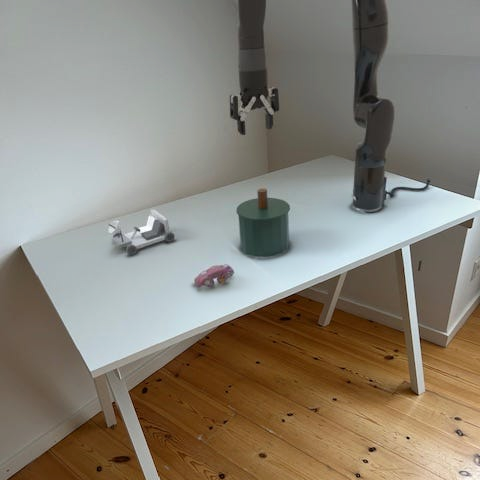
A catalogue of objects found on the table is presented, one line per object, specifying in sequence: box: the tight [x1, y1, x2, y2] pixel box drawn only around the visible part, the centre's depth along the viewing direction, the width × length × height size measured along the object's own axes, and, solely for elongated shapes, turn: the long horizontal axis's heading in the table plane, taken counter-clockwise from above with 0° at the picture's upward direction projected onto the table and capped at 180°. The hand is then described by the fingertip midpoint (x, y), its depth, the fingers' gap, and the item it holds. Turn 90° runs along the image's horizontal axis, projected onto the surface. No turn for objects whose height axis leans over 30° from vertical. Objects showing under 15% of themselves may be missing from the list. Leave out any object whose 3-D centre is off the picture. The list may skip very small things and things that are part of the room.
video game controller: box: [193, 263, 235, 289], centre depth 123 cm, size 10×5×7 cm, turn 117°
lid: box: [235, 188, 291, 221], centre depth 132 cm, size 15×15×6 cm
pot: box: [237, 212, 290, 258], centre depth 136 cm, size 14×14×12 cm
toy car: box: [108, 208, 175, 256], centre depth 145 cm, size 18×10×12 cm
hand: (255, 131), depth 136 cm, fingers open, 8 cm apart
